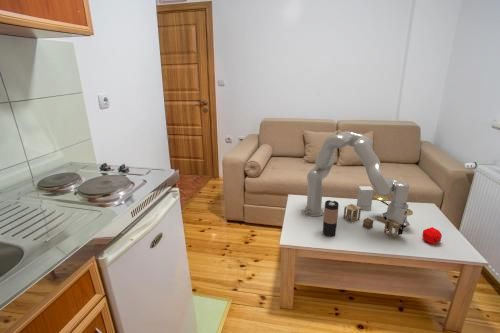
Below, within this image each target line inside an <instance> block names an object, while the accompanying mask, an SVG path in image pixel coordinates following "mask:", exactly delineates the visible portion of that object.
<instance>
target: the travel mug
mask: <svg viewBox="0 0 500 333" xmlns="http://www.w3.org/2000/svg"><path fill="white" fill-rule="evenodd" d="M338 216H339V202H338V201H336V200H326V201H325V202H324V210H323V220H322V221H323V222H322V223H323V224H322V234H323V235H324V236H325V237H329V238H332V237H335V235H336V232H337V223H338V218H339V217H338Z"/></svg>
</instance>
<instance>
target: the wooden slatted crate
mask: <svg viewBox="0 0 500 333" xmlns="http://www.w3.org/2000/svg"><path fill="white" fill-rule="evenodd" d="M361 211H362V210H361V208H360V207H358V206H357V204H353V203H351V204H347V205H346V206H344V211H343V219H346V221H348V222H349V221H350V218H351V223H354V222H357V221H360V218H361Z"/></svg>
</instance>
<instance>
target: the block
mask: <svg viewBox="0 0 500 333" xmlns="http://www.w3.org/2000/svg"><path fill="white" fill-rule="evenodd" d="M373 225H374V220H373V219H371V218H369V217H366V218H364V219H363V222H362V227H363V228H365V229H366V230H370V229H373V227H374V226H373Z"/></svg>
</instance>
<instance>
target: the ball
mask: <svg viewBox="0 0 500 333" xmlns="http://www.w3.org/2000/svg"><path fill="white" fill-rule="evenodd" d="M421 235H422V239H423V240H424V241H425V242H427V243H428V244H430V245H434V244H436V243H439V242H441V240H442V237H443V236H442V233H441V231H440V230H439V229H437V228H435V227H433V226H432V227H428V228H425V229H423V231H422V233H421Z"/></svg>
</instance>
